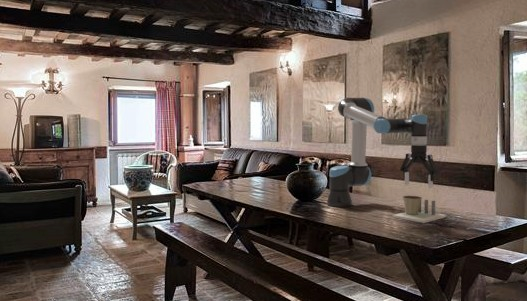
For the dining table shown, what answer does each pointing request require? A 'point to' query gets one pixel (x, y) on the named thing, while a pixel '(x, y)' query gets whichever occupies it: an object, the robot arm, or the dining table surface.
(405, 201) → the flower pot
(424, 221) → the board
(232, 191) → the dining table surface
